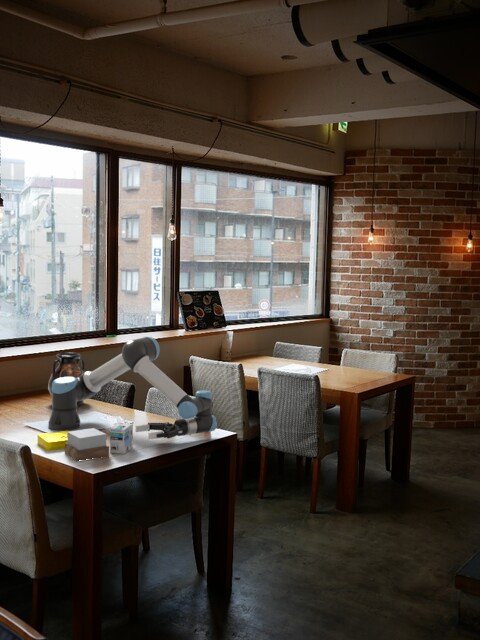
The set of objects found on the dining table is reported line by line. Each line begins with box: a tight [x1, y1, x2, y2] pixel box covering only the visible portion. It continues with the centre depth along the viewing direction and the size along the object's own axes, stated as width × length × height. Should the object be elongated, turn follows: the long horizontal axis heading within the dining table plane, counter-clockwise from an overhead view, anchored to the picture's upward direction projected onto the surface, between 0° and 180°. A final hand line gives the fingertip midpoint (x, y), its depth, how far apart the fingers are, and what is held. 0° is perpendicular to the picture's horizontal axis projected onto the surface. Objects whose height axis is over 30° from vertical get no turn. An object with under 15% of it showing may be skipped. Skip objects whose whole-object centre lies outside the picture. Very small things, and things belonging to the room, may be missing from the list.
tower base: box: [64, 443, 110, 462], centre depth 305 cm, size 14×14×5 cm
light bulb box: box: [109, 422, 134, 455], centre depth 313 cm, size 11×7×11 cm, turn 168°
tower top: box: [67, 427, 107, 450], centre depth 304 cm, size 12×12×5 cm
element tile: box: [37, 430, 70, 452], centre depth 319 cm, size 15×15×5 cm
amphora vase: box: [47, 352, 85, 407], centre depth 396 cm, size 22×22×28 cm
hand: (142, 432), depth 318 cm, fingers open, 13 cm apart
